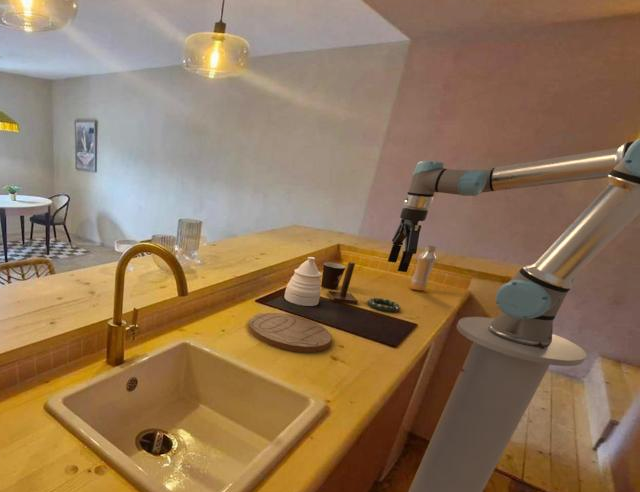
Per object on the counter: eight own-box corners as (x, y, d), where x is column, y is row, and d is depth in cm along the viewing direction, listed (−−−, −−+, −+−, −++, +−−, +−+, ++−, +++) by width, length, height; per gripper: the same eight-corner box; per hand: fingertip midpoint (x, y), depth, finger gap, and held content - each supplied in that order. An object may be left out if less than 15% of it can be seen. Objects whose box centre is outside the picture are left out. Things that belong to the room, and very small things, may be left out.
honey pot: (319, 308, 149) (331, 263, 142) (284, 302, 153) (293, 258, 146) (317, 297, 160) (327, 254, 154) (284, 292, 164) (293, 250, 158)
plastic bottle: (426, 290, 177) (441, 246, 169) (423, 293, 172) (439, 249, 164) (409, 286, 181) (423, 244, 173) (406, 289, 176) (421, 246, 168)
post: (357, 304, 155) (367, 267, 149) (332, 301, 157) (342, 264, 151) (350, 296, 163) (360, 261, 157) (327, 294, 165) (336, 258, 159)
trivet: (341, 336, 127) (343, 330, 126) (310, 361, 111) (312, 355, 110) (270, 311, 143) (271, 307, 143) (234, 330, 127) (234, 325, 126)
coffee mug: (327, 290, 169) (332, 268, 166) (314, 283, 177) (319, 262, 173) (350, 289, 172) (356, 268, 168) (336, 283, 179) (342, 262, 176)
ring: (403, 314, 148) (405, 309, 147) (372, 310, 150) (373, 305, 149) (392, 303, 158) (394, 299, 157) (363, 300, 160) (364, 295, 159)
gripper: (393, 203, 148) (377, 257, 156) (414, 211, 126) (394, 274, 134) (416, 204, 146) (398, 259, 154) (441, 214, 124) (419, 277, 132)
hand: (396, 266), depth 144 cm, fingers open, 13 cm apart
